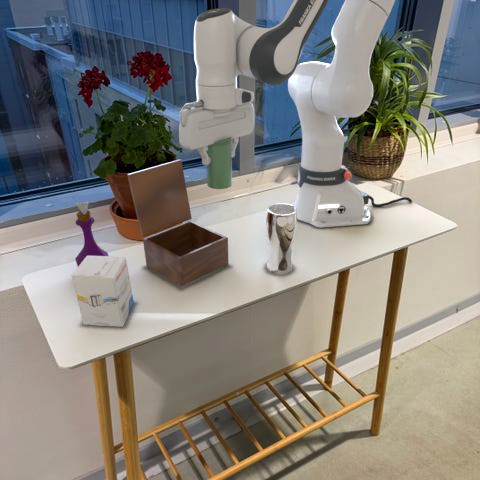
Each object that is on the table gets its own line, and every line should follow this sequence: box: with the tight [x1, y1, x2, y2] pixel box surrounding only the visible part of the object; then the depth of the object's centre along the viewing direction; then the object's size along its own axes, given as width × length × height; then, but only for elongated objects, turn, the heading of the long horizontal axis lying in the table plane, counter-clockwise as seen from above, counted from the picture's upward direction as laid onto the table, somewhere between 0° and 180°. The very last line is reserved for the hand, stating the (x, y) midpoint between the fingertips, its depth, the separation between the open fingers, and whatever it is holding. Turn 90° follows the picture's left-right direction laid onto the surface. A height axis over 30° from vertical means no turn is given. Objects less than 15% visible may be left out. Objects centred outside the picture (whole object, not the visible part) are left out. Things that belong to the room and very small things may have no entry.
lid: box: [126, 159, 193, 238], centre depth 112 cm, size 14×14×1 cm
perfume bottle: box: [74, 201, 110, 267], centre depth 109 cm, size 8×8×18 cm
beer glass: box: [265, 203, 298, 276], centre depth 112 cm, size 7×7×15 cm
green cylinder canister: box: [205, 137, 233, 190], centre depth 114 cm, size 7×7×11 cm
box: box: [142, 220, 229, 287], centre depth 114 cm, size 13×14×8 cm
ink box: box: [71, 255, 135, 328], centre depth 97 cm, size 9×8×12 cm
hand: (219, 160), depth 114 cm, fingers closed on green cylinder canister, 6 cm apart
